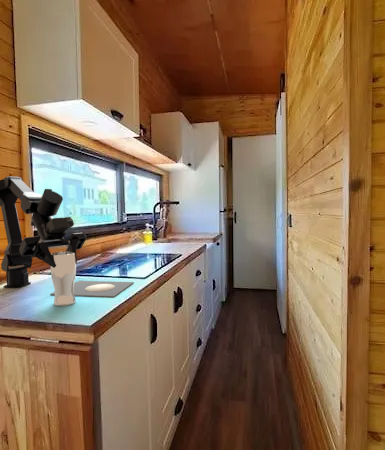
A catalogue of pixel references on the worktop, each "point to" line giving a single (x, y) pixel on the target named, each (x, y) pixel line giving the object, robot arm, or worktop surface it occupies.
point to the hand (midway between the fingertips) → (65, 265)
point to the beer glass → (64, 278)
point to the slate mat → (99, 288)
